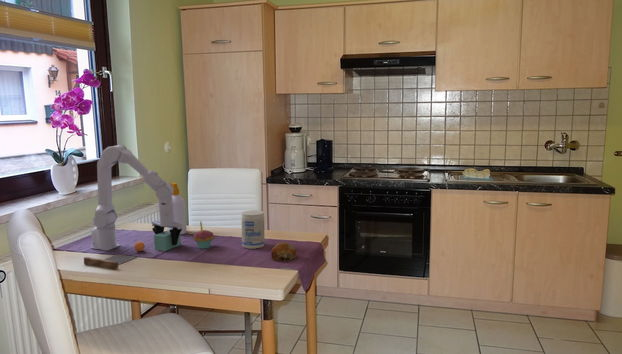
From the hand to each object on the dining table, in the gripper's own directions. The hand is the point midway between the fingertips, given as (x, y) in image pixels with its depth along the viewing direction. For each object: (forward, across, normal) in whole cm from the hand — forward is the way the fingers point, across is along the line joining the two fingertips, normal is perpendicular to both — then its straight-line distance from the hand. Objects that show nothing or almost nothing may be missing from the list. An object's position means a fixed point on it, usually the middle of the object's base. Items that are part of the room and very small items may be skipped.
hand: (167, 243), depth 200 cm
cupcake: (+2, -14, -6) cm, 15 cm away
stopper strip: (+1, +7, +29) cm, 30 cm away
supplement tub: (+2, -33, -15) cm, 36 cm away
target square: (+1, +7, +21) cm, 22 cm away
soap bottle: (+2, +12, -20) cm, 23 cm away
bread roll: (+2, -52, -6) cm, 52 cm away
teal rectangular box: (+1, 0, 0) cm, 1 cm away
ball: (-1, +7, +9) cm, 11 cm away
